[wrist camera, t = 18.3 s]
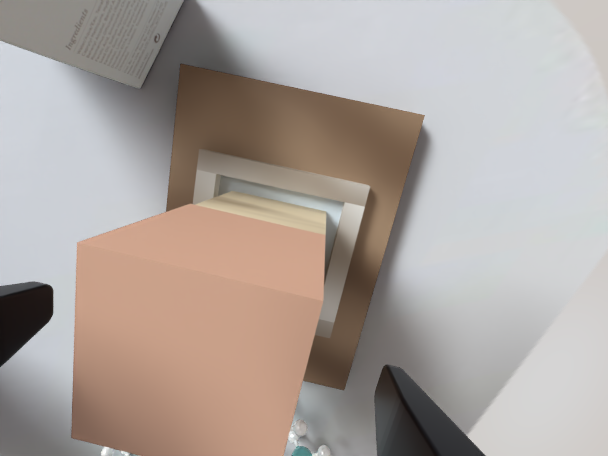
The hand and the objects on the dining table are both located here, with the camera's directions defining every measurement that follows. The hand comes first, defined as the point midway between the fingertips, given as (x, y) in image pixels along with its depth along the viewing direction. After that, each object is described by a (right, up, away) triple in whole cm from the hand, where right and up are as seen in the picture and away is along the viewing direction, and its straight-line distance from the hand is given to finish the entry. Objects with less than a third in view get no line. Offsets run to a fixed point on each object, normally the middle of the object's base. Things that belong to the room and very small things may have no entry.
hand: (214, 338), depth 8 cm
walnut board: (+1, +2, +10) cm, 10 cm away
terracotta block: (0, +1, +3) cm, 4 cm away
